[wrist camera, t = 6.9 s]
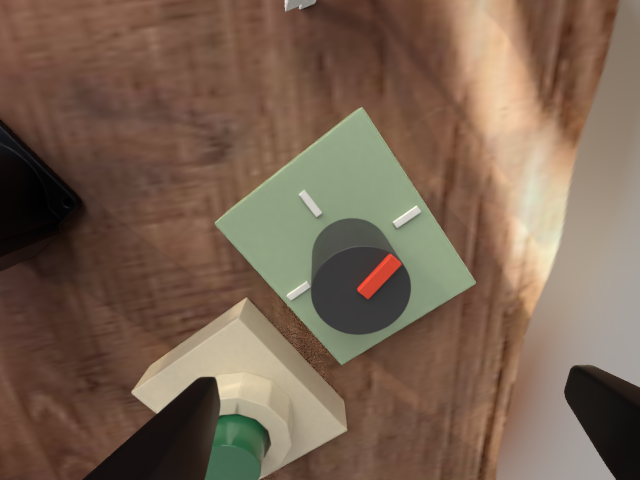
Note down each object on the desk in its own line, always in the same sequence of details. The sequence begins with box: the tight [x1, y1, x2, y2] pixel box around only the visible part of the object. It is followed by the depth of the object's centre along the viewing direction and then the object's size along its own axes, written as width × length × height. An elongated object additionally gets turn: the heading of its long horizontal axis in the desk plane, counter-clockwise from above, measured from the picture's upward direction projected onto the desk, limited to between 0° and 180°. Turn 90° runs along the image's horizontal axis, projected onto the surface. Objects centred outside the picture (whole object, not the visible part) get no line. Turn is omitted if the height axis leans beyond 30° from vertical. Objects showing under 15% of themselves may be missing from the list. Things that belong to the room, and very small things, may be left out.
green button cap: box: [205, 414, 266, 480], centre depth 18 cm, size 4×4×2 cm
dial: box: [311, 218, 411, 335], centre depth 14 cm, size 4×4×4 cm
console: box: [214, 107, 476, 365], centre depth 18 cm, size 11×9×3 cm
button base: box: [131, 298, 347, 480], centre depth 21 cm, size 11×9×4 cm
